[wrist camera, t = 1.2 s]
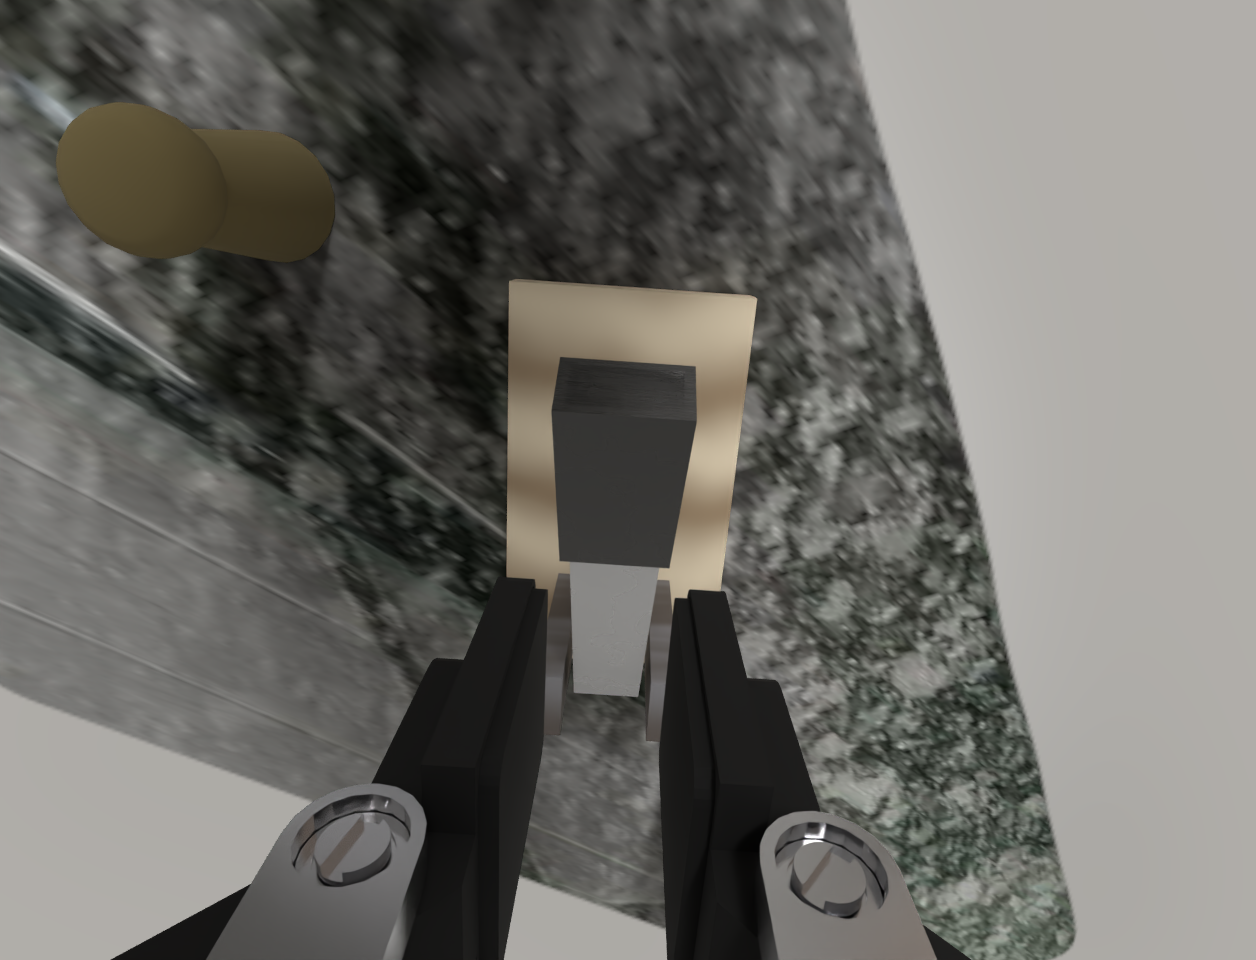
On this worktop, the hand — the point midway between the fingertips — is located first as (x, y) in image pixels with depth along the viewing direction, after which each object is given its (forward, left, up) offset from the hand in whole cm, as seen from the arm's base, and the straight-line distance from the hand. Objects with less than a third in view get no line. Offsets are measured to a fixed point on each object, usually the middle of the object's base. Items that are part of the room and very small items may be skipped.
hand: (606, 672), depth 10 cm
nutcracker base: (+6, 0, -27) cm, 28 cm away
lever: (+4, 0, -16) cm, 16 cm away
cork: (-7, -18, -27) cm, 33 cm away
